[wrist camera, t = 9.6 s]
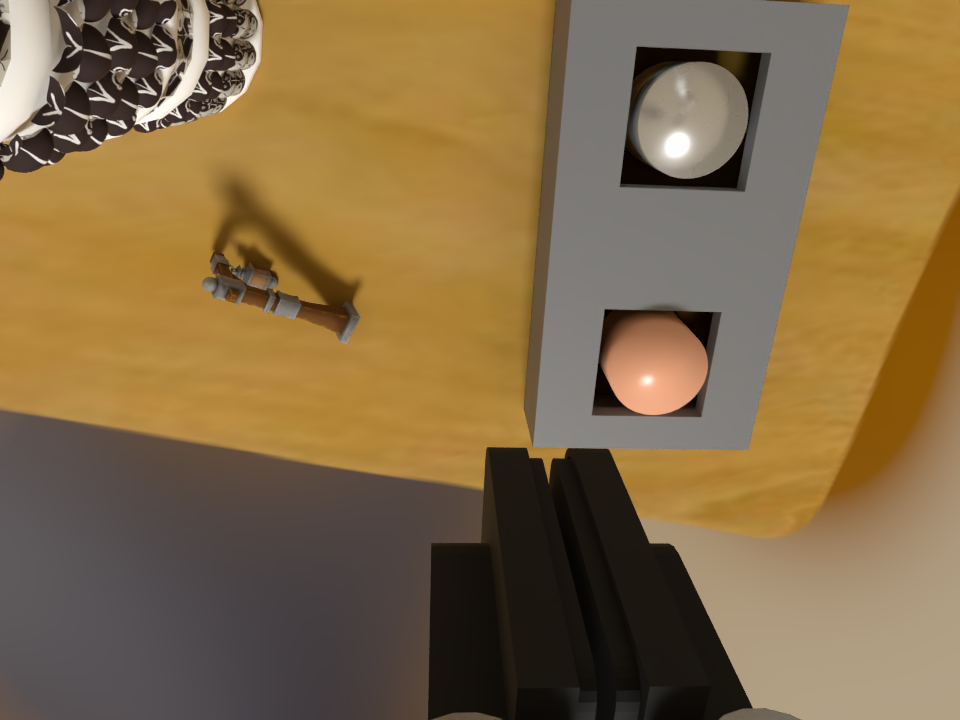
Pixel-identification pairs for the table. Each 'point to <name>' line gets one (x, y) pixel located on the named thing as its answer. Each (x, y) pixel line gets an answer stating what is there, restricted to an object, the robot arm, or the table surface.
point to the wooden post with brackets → (275, 297)
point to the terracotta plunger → (651, 360)
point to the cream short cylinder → (686, 118)
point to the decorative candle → (116, 70)
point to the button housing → (669, 216)
